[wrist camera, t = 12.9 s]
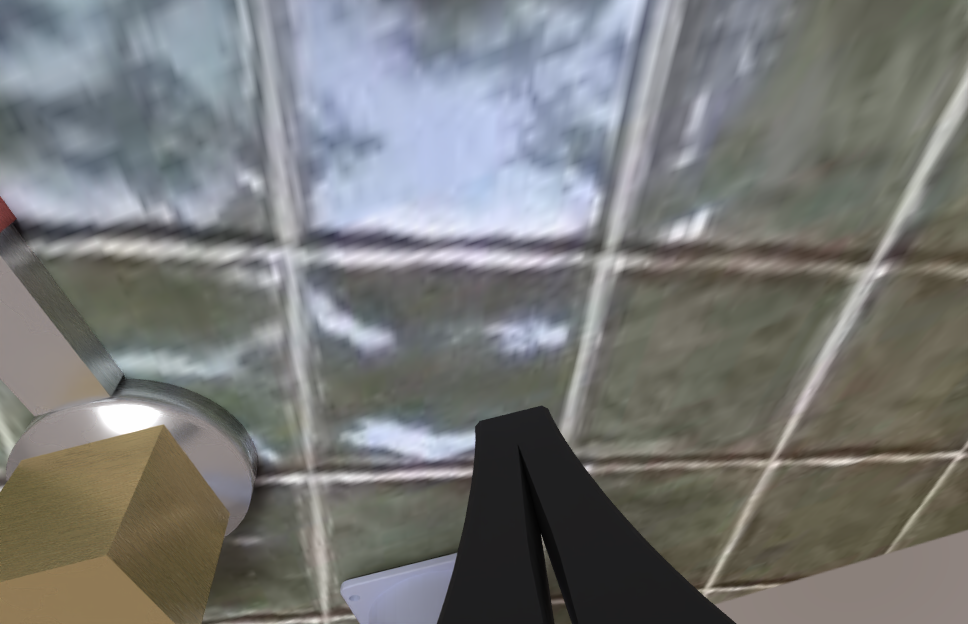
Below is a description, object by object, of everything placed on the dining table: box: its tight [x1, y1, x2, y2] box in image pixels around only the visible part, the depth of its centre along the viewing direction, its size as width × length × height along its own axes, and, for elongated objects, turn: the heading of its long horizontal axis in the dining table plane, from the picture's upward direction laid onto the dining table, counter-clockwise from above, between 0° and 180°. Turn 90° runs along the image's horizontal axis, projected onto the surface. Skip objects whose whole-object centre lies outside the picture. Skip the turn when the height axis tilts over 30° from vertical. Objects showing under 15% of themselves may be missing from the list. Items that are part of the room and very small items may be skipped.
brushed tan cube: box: [0, 424, 230, 624], centre depth 20 cm, size 5×5×5 cm
